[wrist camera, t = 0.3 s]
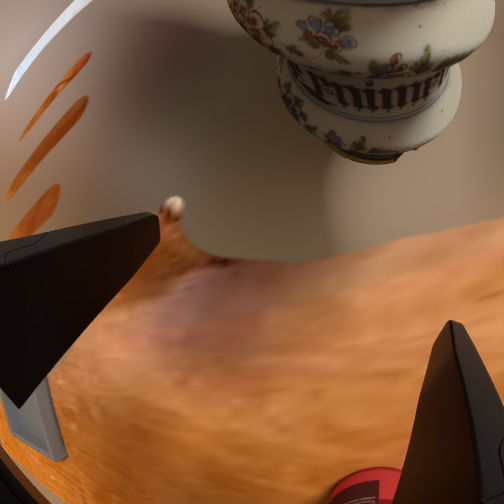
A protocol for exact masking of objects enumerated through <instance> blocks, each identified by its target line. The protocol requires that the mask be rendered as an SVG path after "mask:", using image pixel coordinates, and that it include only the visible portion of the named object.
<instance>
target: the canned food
mask: <svg viewBox="0 0 504 504" xmlns="http://www.w3.org/2000/svg"><path fill="white" fill-rule="evenodd" d="M401 472H402V471H401V470H399V469H395V468H391V467H372V468H367V469H363V470H360V471H357V472H355V473H353V474H351V475H349V476H347V477H346V478H345V479H343V480H342V481H341V482H340V483H339V484H338V485H337V487H336V488H335V489H334V491H333V492H332V494H331V497H330V500H329V504H392V501H393V498H394V495H395V492H396V489H397V485H398V482H399V479H400V475H401Z"/></svg>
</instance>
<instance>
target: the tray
mask: <svg viewBox="0 0 504 504" xmlns="http://www.w3.org/2000/svg"><path fill="white" fill-rule="evenodd" d="M0 396H1V400H2V404H3V408H4V411H5V415H6V418H7V422H8V425H9V428H10V431H11V434H12V435H13V436H14V437H16V438H17V439H19V440H20V441H22V442H23V443H25V444H27V445H28V446H30V447H31V448H33V449H35V450H36V451H38V452H39V453H41V454H43V455H45V456H46V457H48V458H50V459H51V460H53V461H55V462H57V461H59V460H61V459H63V458H65V457H67V456H68V454H67V451H66V448H65V445H64V442H63V438H62V435H61V432H60V428H59V425H58V421H57V418H56V414H55V410H54V406H53V402H52V398H51V394H50V389H49V385H48V380H47V376H46V377H45V378H44V380H43V381H42V382H41V383H40V385H39V386H38V387H37V388H36V390H35V391H34V392H33V393H32V395H31V396H30V397H29V398H28V400H27V401H26V402H25V404H24V405H23V406H22V407H21V408H20V409H18V408H17V407H16V406H15V405H14V404H13V402H12V401H11V400H10V399H9V398H8V397H7V396H6V394H5V393H4V392H3V391H2V390H1V388H0Z"/></svg>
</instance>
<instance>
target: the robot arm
mask: <svg viewBox="0 0 504 504" xmlns="http://www.w3.org/2000/svg"><path fill="white" fill-rule="evenodd" d="M159 242H160V225H159V218H158V216H157V215H155V214H152V213H150V212H142V213H137V214H131V215H126V216H121V217H116V218H111V219H106V220H101V221H96V222H91V223H86V224H81V225H76V226H72V227H67V228H63V229H59V230H54V231H50V232H45V233H40V234H36V235H31V236H27V237H22V238H17V239H12V240H7V241H2V242H0V388H1V390H2V391H3V392H4V393H5V394H6V396H7V397H8V398H9V399H10V400H11V401H12V402H13V404H14V405H15V406H16V407H17V408H18V409H20V408H21V407H22V406H23V405H24V404H25V402H26V401H27V400H28V398H29V397H30V396H31V395H32V393H33V392H34V391H35V390H36V388H37V387H38V386H39V385H40V383H41V382H42V381H43V380H44V378H45V377H46V376H47V375H48V373H49V372H50V371H51V370H52V368H53V367H54V366H55V364H56V363H57V362H58V361H59V360H60V358H61V357H62V356H63V355H64V354H65V352H66V351H67V350H68V349H69V348H70V347H71V345H72V344H73V343H74V342H75V341H76V340H77V338H78V337H79V336H80V335H81V334H82V333H83V331H84V330H85V329H86V328H87V327H88V326H89V325H90V323H91V322H92V321H93V320H94V319H95V318H96V317H97V316H98V314H99V313H100V312H101V311H102V310H103V309H104V308H105V307H106V305H107V304H108V303H109V302H110V301H111V300H112V299H113V298H114V297H115V296H116V294H117V293H118V292H119V291H120V290H121V289H122V288H123V287H124V286H125V285H126V284H127V283H128V281H129V280H130V279H131V278H132V277H133V276H134V275H135V273H136V272H137V271H138V269H139V268H140V267H141V266H142V264H143V263H144V262H145V260H146V259H147V258H148V257H149V255H150V254H151V253H152V252H153V250H154V249H155V248H156V247H157V245H158V244H159ZM0 504H51V503H50V502H49V501H48V500H47V499H46V498H45V497H44V496H43V495H42V494H41V493H40V492H39V490H38V489H37V488H36V487H35V486H34V485H33V484H32V483H31V482H30V481H29V479H28V478H27V477H26V476H25V475H24V474H23V473H22V471H21V470H20V469H19V468H18V467H17V465H16V464H15V463H14V462H13V460H12V459H11V458H10V457H9V455H8V454H7V453H6V452H5V450H4V449H3V448H2V446H1V445H0ZM392 504H504V406H503V404H502V402H501V399H500V397H499V395H498V393H497V390H496V388H495V386H494V384H493V382H492V380H491V378H490V376H489V373H488V371H487V369H486V367H485V365H484V363H483V361H482V359H481V357H480V355H479V354H478V352H477V350H476V348H475V346H474V344H473V342H472V340H471V338H470V337H469V335H468V333H467V331H466V329H465V328H464V326H463V324H461V323H459V322H456V321H453V320H449V321H448V322H447V323H446V324H445V326H444V327H443V329H442V331H441V332H440V334H439V335H438V337H437V339H436V340H435V342H434V344H433V347H432V351H431V355H430V359H429V363H428V367H427V371H426V375H425V378H424V382H423V385H422V389H421V392H420V396H419V401H418V405H417V410H416V415H415V420H414V425H413V429H412V434H411V438H410V442H409V446H408V450H407V454H406V458H405V461H404V465H403V469H402V472H401V475H400V479H399V482H398V485H397V489H396V492H395V495H394V498H393V501H392Z"/></svg>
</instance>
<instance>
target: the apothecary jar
mask: <svg viewBox="0 0 504 504" xmlns="http://www.w3.org/2000/svg"><path fill="white" fill-rule="evenodd" d="M227 2H228V5H229V8H230V10H231V12H232V14H233V15H234V17H235V19H236V21H237V22H238V23H239V24H240V25H241V27H242V28H243V29H244V30H245V31H246V32H247V33H248V34H249V35H250V36H251V37H253V39H255V40H256V41H257V42H258V43H260V44H261V45H262V46H264V47H265V48H267V49H268V50H270V51H271V52H273V53H275V54H277V59H276V80H277V84H278V89H279V92H280V95H281V97H282V99H283V101H284V103H285V105H286V107H287V108H288V110H289V111H290V113H291V114H292V116H293V117H294V118H295V119H296V120H297V121H298V122H299V123H300V124H301V125H302V126H303V127H304V128H305V129H307V130H308V131H309V132H310V133H312V134H313V135H315V136H316V137H318V138H320V139H321V140H322V141H323V142H324V143H325V144H326V145H327V146H328V147H329V148H330V149H332V150H333V151H335V152H336V153H337V154H339V155H341V156H343V157H344V158H347V159H350V160H352V161H355V162H359V163H364V164H375V165H377V164H389V163H393V162H396V160H397V159H398V158H399V157H400V156H401V155H402V154H403V153H404V152H406V151H410V150H417V149H418V148H419V147H420V146H422V145H424V144H426V143H428V142H430V141H431V140H433V139H434V138H435V137H437V136H438V135H439V134H440V133H441V132H442V131H443V130H444V129H445V128H446V127H447V126H448V124H449V123H450V121H451V120H452V118H453V117H454V115H455V112H456V110H457V107H458V105H459V101H460V97H461V88H462V79H461V71H460V67H459V63H458V62H460V61H462V60H464V59H465V58H466V57H468V56H469V55H470V54H472V53H473V52H474V51H475V50H476V49H477V48H478V47H479V46H480V45H481V44H482V43H483V41H484V40H485V38H486V37H487V35H488V33H489V32H490V29H491V27H492V24H493V21H494V14H495V0H227Z"/></svg>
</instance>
